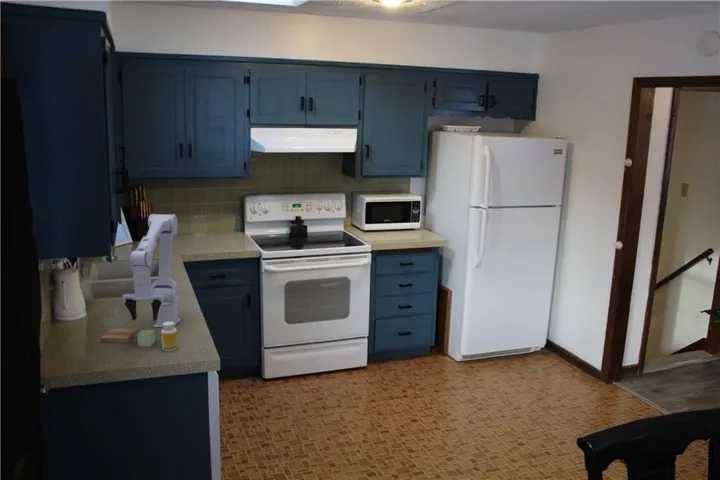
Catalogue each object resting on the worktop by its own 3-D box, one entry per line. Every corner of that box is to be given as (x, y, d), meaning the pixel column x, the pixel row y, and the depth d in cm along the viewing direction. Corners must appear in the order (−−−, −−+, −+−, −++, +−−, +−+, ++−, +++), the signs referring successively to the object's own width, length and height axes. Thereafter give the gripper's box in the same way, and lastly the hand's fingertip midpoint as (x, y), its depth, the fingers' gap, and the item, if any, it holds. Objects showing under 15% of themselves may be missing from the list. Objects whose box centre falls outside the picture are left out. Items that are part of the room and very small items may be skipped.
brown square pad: (112, 334, 238) (112, 328, 238) (138, 335, 238) (138, 328, 237) (101, 344, 228) (100, 337, 228) (127, 344, 228) (127, 338, 227)
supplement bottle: (159, 348, 223) (157, 323, 221) (172, 344, 227) (171, 319, 225) (167, 352, 219) (165, 326, 218) (180, 348, 223) (179, 323, 221)
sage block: (142, 341, 230) (142, 330, 229) (154, 342, 230) (154, 330, 229) (138, 346, 225) (137, 334, 224) (150, 346, 225) (149, 334, 224)
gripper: (117, 286, 219) (120, 322, 222) (158, 286, 218) (160, 323, 221) (126, 280, 226) (128, 316, 229) (165, 281, 225) (167, 317, 228)
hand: (144, 319), depth 226 cm, fingers open, 7 cm apart
